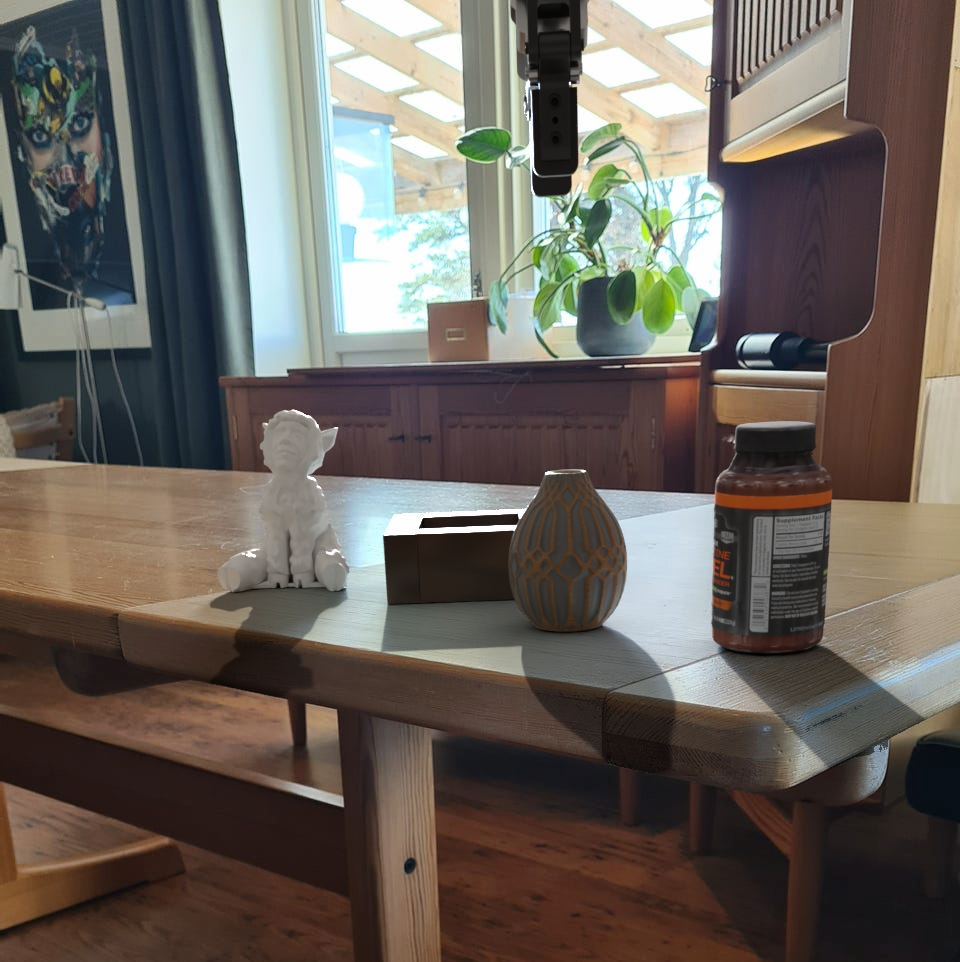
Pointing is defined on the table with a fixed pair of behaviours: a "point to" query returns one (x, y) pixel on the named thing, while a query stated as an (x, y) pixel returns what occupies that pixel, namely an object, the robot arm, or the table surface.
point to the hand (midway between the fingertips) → (553, 186)
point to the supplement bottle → (771, 541)
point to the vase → (567, 556)
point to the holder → (449, 556)
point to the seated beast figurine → (291, 515)
